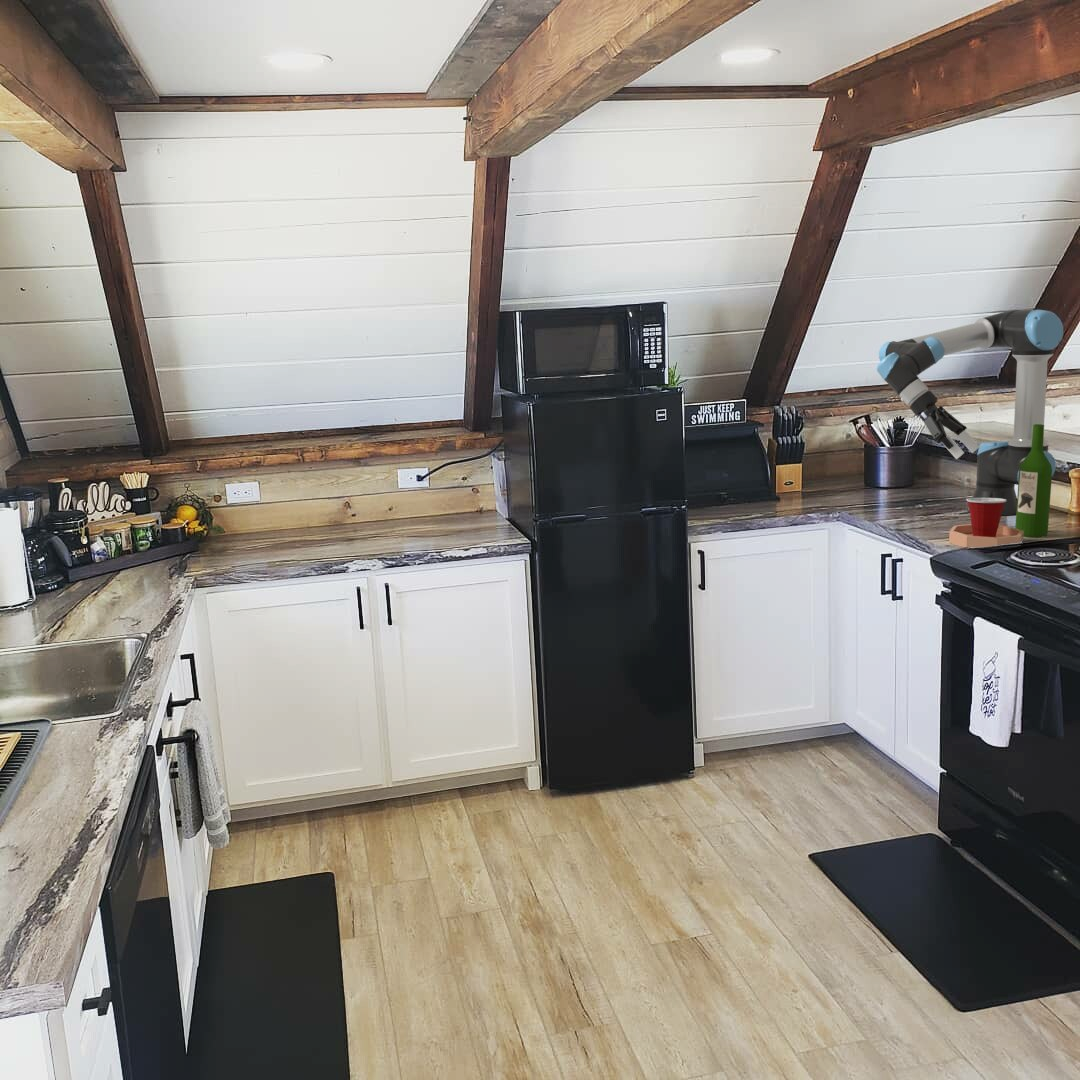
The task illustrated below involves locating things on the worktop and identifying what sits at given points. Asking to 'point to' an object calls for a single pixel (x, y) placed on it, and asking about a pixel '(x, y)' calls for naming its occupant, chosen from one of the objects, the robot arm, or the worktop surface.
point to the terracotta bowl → (965, 538)
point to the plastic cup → (985, 515)
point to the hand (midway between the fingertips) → (968, 453)
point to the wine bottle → (1034, 489)
